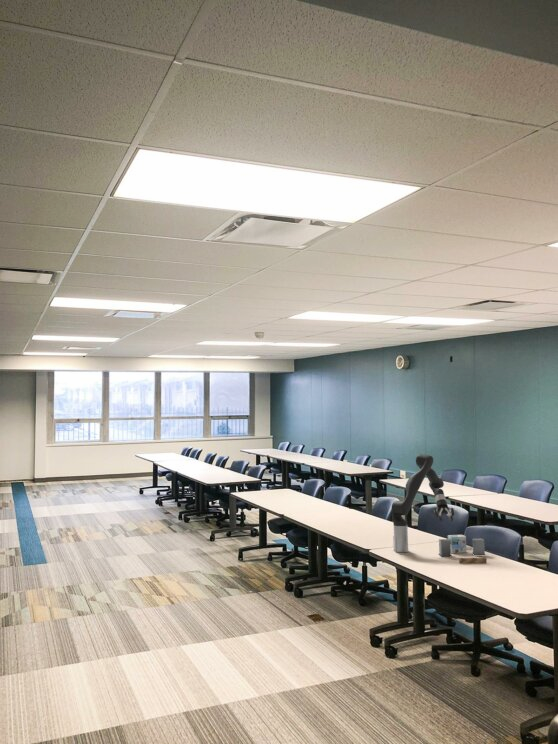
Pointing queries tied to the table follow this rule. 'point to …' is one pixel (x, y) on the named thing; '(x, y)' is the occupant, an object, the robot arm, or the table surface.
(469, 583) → the table surface
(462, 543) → the light bulb box
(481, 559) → the walnut stop
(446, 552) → the block
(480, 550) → the block
